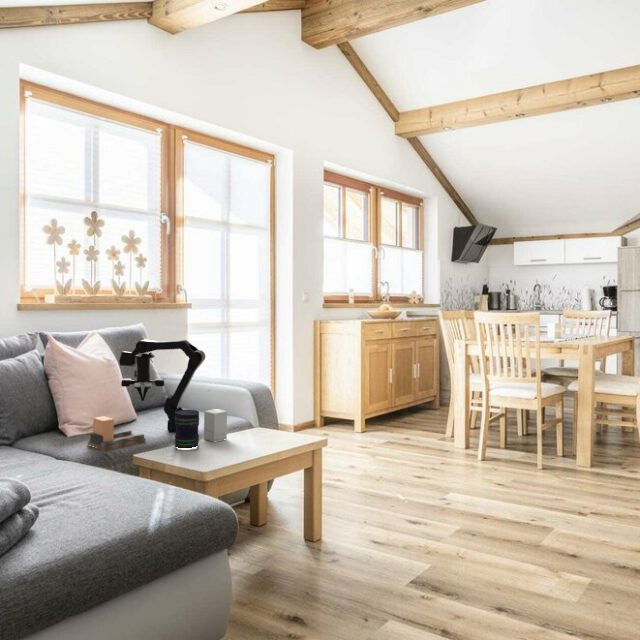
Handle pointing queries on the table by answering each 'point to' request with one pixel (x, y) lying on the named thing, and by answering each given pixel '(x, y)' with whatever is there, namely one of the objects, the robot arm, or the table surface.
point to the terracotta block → (104, 427)
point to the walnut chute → (115, 440)
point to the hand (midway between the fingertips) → (142, 401)
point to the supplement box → (215, 425)
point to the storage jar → (186, 428)
